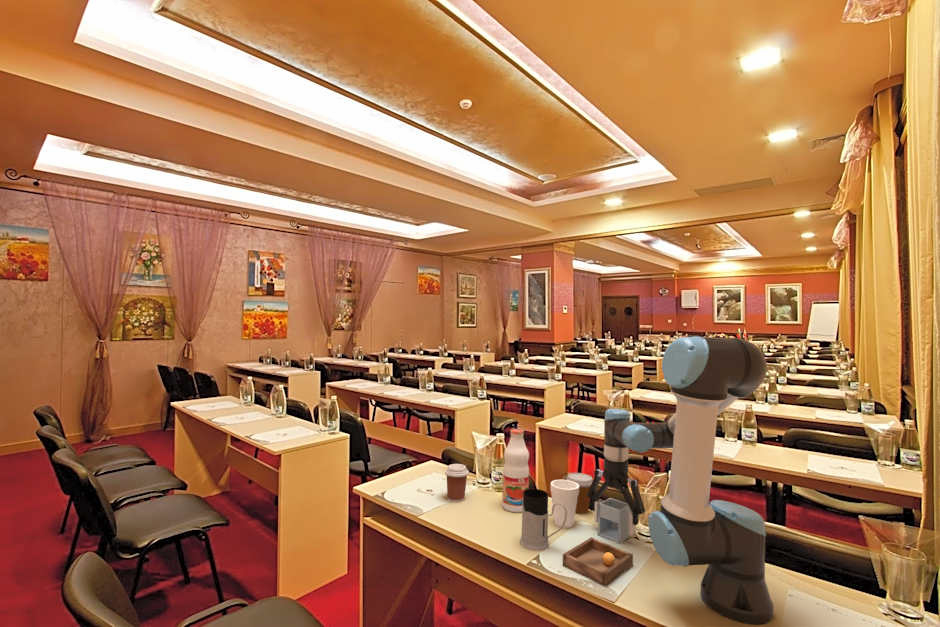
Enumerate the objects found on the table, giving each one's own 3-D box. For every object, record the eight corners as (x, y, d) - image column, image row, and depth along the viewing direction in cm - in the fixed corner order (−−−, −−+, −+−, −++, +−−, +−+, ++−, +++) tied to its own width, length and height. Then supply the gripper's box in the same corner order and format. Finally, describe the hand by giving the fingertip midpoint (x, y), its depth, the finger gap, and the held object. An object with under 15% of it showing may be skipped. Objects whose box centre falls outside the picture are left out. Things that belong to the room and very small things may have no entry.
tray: (632, 565, 122) (632, 554, 123) (605, 586, 112) (606, 574, 112) (590, 547, 132) (591, 537, 132) (562, 565, 121) (562, 554, 121)
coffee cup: (443, 503, 161) (444, 470, 162) (444, 493, 170) (445, 462, 171) (468, 503, 161) (469, 470, 162) (467, 494, 170) (468, 463, 171)
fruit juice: (522, 501, 165) (524, 426, 166) (531, 512, 156) (534, 432, 157) (498, 503, 163) (501, 427, 164) (506, 513, 154) (509, 433, 154)
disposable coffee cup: (560, 506, 162) (561, 473, 162) (582, 503, 165) (583, 471, 165) (575, 517, 153) (576, 482, 153) (598, 514, 156) (599, 480, 156)
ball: (618, 556, 120) (609, 557, 119) (616, 567, 120) (607, 568, 119) (610, 549, 123) (601, 550, 122) (607, 560, 123) (599, 561, 122)
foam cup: (576, 518, 152) (577, 480, 152) (580, 531, 142) (581, 490, 143) (548, 516, 153) (549, 478, 153) (550, 528, 143) (551, 488, 144)
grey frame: (609, 528, 145) (610, 497, 145) (630, 536, 140) (631, 504, 140) (598, 535, 140) (598, 503, 140) (619, 543, 134) (620, 510, 135)
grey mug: (526, 533, 139) (528, 486, 140) (570, 546, 132) (571, 496, 132) (515, 545, 132) (516, 494, 132) (560, 559, 124) (561, 505, 125)
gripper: (657, 465, 135) (656, 537, 134) (589, 448, 152) (587, 512, 151) (647, 470, 129) (645, 545, 129) (577, 452, 146) (575, 518, 146)
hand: (614, 527), depth 140 cm, fingers open, 11 cm apart
